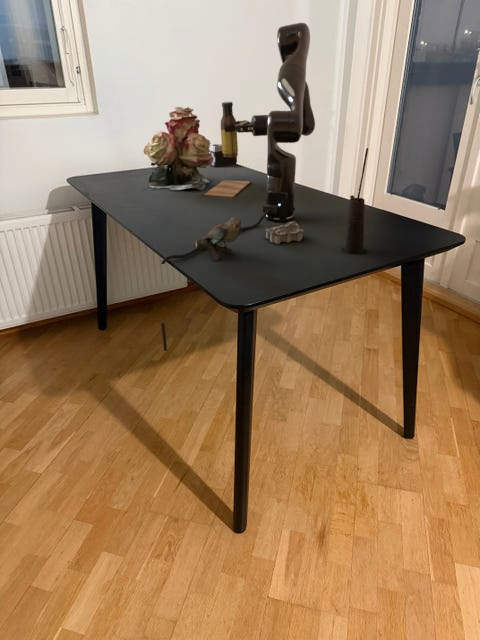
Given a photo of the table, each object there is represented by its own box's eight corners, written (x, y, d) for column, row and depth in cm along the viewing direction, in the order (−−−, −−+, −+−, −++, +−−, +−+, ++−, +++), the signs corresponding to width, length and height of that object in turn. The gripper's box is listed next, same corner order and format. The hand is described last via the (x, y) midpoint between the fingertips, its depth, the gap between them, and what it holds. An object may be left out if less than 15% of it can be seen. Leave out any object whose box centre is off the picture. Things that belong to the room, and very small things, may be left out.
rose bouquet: (141, 190, 190) (132, 110, 175) (172, 174, 214) (167, 102, 199) (198, 195, 183) (194, 112, 168) (224, 178, 207) (223, 104, 191)
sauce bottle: (235, 154, 188) (233, 100, 178) (240, 157, 183) (239, 102, 173) (219, 156, 187) (217, 101, 177) (224, 158, 182) (222, 103, 172)
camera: (227, 160, 239) (226, 140, 234) (237, 163, 233) (237, 142, 228) (205, 164, 231) (204, 143, 226) (215, 167, 226) (215, 145, 221)
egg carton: (296, 233, 144) (297, 220, 142) (305, 241, 138) (306, 228, 136) (263, 236, 142) (263, 223, 140) (271, 244, 135) (272, 231, 133)
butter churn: (330, 243, 136) (340, 143, 122) (362, 242, 136) (375, 142, 122) (338, 255, 128) (349, 149, 114) (372, 254, 129) (387, 148, 114)
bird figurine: (179, 245, 133) (196, 193, 117) (208, 239, 138) (228, 188, 123) (202, 281, 129) (223, 232, 113) (230, 272, 134) (254, 224, 118)
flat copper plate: (233, 197, 179) (233, 196, 179) (204, 195, 182) (204, 194, 182) (250, 182, 199) (250, 181, 199) (223, 181, 202) (223, 179, 202)
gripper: (269, 138, 178) (227, 140, 175) (259, 132, 190) (219, 135, 187) (269, 117, 174) (226, 119, 171) (259, 112, 186) (219, 114, 183)
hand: (223, 127), depth 179 cm, fingers closed on sauce bottle, 6 cm apart
